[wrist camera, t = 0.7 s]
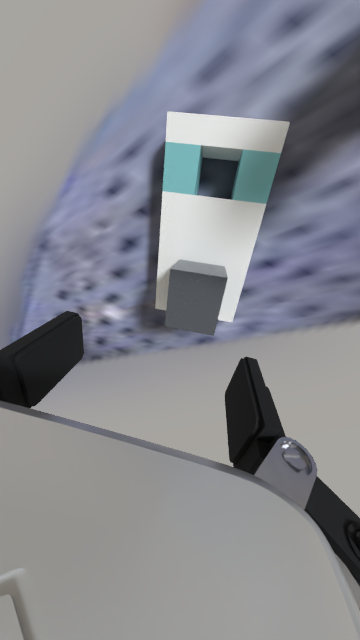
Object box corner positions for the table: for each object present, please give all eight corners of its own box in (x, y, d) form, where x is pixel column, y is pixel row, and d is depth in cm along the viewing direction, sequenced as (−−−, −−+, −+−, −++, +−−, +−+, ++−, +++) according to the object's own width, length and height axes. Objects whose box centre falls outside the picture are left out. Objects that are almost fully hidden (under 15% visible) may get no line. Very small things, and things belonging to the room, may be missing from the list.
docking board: (174, 129, 22) (167, 111, 19) (277, 139, 21) (290, 121, 18) (161, 299, 33) (155, 308, 29) (230, 311, 31) (232, 322, 28)
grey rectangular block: (223, 260, 28) (227, 277, 19) (213, 303, 31) (213, 335, 22) (184, 254, 29) (170, 268, 19) (178, 297, 32) (164, 326, 23)
